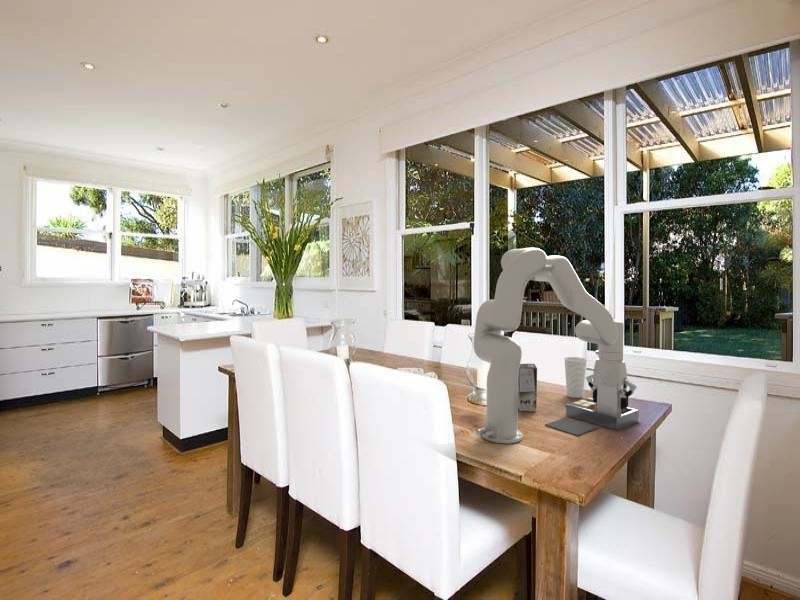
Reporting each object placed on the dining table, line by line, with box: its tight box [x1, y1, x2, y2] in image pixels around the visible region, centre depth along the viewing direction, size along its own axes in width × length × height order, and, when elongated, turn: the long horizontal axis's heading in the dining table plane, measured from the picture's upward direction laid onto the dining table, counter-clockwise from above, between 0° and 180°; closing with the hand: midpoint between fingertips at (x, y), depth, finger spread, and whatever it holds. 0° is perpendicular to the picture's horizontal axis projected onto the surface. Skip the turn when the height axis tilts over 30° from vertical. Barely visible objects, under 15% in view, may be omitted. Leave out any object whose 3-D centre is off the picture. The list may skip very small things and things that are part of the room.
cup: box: [564, 356, 587, 399], centre depth 181 cm, size 8×8×16 cm
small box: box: [597, 383, 622, 417], centre depth 152 cm, size 8×6×13 cm
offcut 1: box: [572, 399, 588, 407], centre depth 161 cm, size 6×2×4 cm, turn 126°
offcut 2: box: [580, 402, 596, 411], centre depth 159 cm, size 6×2×4 cm, turn 126°
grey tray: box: [565, 397, 640, 431], centre depth 155 cm, size 14×18×4 cm
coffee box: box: [518, 363, 538, 413], centre depth 167 cm, size 9×6×16 cm
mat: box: [544, 416, 600, 437], centre depth 146 cm, size 12×12×1 cm
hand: (609, 405), depth 152 cm, fingers open, 9 cm apart
